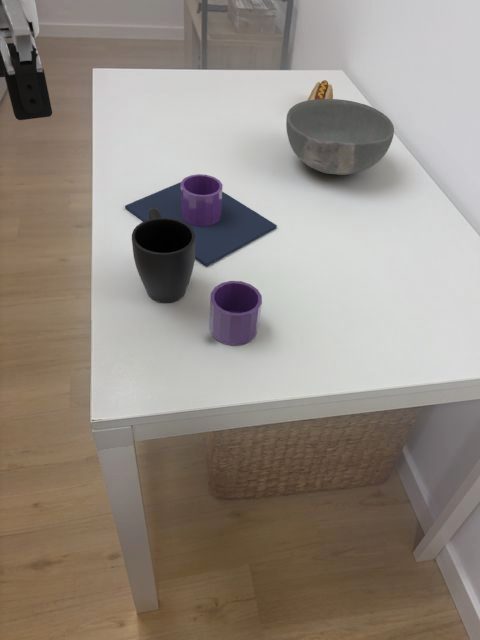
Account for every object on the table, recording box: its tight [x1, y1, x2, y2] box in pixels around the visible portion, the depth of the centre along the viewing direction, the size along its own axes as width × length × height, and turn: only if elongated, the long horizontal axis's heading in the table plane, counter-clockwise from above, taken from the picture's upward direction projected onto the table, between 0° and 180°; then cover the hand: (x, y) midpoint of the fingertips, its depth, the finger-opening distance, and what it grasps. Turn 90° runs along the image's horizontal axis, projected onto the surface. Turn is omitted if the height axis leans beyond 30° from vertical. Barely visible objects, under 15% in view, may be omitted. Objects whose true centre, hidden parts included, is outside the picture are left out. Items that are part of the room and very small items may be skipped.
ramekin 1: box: [180, 173, 223, 227], centre depth 86 cm, size 7×7×6 cm
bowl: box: [285, 98, 395, 176], centre depth 101 cm, size 20×20×10 cm
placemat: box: [124, 181, 278, 267], centre depth 88 cm, size 20×16×1 cm
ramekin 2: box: [209, 280, 263, 347], centre depth 70 cm, size 7×7×6 cm
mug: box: [131, 208, 196, 304], centre depth 73 cm, size 8×12×10 cm
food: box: [307, 79, 334, 101], centre depth 120 cm, size 14×6×5 cm, turn 169°
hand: (21, 94), depth 50 cm, fingers open, 9 cm apart
